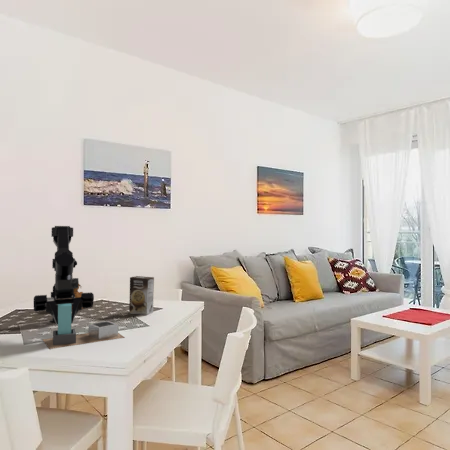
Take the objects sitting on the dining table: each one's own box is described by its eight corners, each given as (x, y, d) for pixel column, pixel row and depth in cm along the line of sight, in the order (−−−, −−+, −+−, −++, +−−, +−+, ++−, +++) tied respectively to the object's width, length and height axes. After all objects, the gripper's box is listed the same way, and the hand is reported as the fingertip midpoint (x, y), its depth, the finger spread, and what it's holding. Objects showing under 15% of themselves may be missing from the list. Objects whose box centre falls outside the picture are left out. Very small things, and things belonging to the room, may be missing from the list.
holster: (52, 339, 131) (53, 330, 131) (74, 337, 134) (74, 328, 134) (53, 345, 125) (53, 335, 125) (75, 343, 128) (76, 333, 128)
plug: (57, 340, 130) (57, 304, 130) (70, 338, 132) (71, 303, 132) (57, 343, 126) (57, 306, 127) (71, 342, 128) (71, 305, 128)
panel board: (49, 351, 121) (49, 349, 121) (42, 341, 131) (42, 339, 131) (124, 339, 135) (124, 337, 135) (113, 331, 145) (113, 329, 145)
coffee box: (128, 313, 174) (129, 277, 174) (136, 310, 180) (136, 275, 180) (147, 315, 171) (147, 278, 171) (153, 312, 177) (154, 276, 178)
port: (88, 335, 136) (88, 324, 136) (107, 331, 142) (107, 320, 142) (98, 339, 131) (98, 327, 131) (117, 335, 137) (118, 324, 137)
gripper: (34, 271, 129) (32, 311, 119) (93, 269, 137) (96, 307, 127) (34, 291, 136) (32, 331, 126) (91, 288, 144) (93, 325, 134)
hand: (64, 323), depth 128 cm, fingers open, 4 cm apart
